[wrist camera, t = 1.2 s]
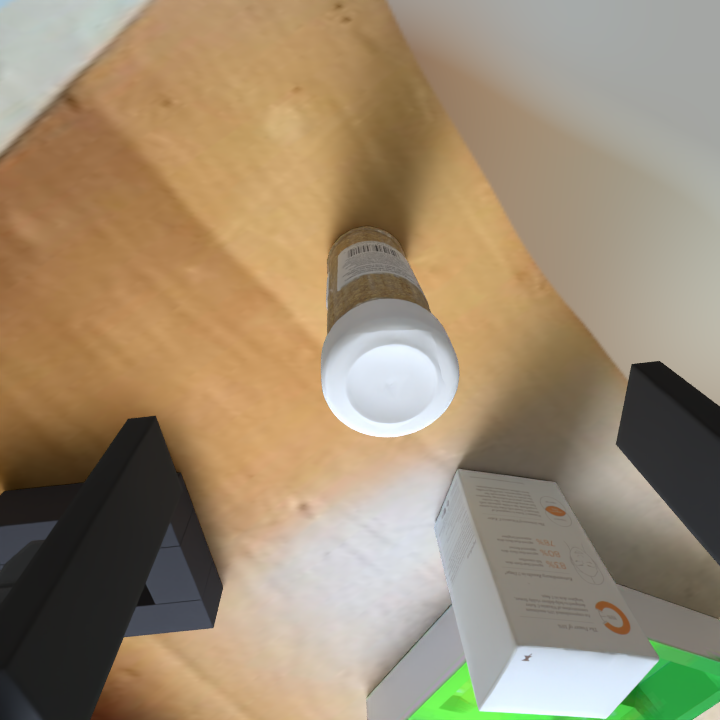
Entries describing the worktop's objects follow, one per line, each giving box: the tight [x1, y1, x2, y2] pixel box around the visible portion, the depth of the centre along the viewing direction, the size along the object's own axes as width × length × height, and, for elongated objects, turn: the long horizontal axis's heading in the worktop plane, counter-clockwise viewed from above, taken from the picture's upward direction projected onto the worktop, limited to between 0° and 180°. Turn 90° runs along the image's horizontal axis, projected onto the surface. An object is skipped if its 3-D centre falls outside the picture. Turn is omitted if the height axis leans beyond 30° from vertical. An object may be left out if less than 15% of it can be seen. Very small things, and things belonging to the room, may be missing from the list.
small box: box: [434, 469, 659, 719], centre depth 30 cm, size 8×6×13 cm
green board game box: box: [366, 583, 720, 720], centre depth 44 cm, size 25×25×5 cm
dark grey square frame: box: [0, 473, 223, 637], centre depth 35 cm, size 13×13×4 cm
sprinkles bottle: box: [321, 226, 459, 437], centre depth 21 cm, size 5×5×14 cm
